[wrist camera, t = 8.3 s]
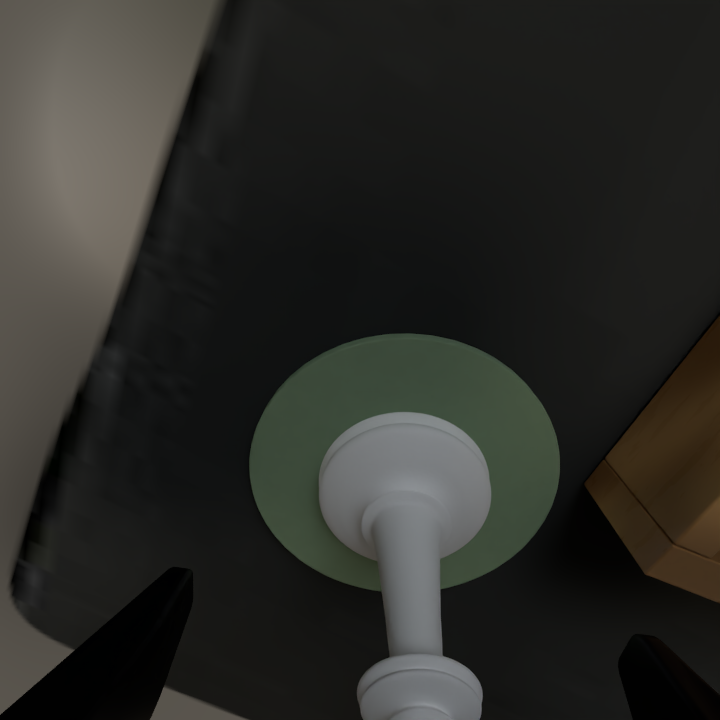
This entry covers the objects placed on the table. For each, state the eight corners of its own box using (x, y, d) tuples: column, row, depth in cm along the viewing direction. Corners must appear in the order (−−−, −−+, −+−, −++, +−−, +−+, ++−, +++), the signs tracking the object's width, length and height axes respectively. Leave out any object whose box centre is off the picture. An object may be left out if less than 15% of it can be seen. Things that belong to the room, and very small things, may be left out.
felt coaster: (461, 614, 15) (463, 625, 15) (217, 528, 14) (212, 537, 14) (620, 410, 12) (628, 417, 11) (315, 277, 11) (313, 280, 10)
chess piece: (512, 430, 12) (1040, 1408, 2) (459, 561, 13) (634, 1388, 4) (335, 394, 11) (142, 1293, 2) (306, 532, 13) (138, 1329, 4)
